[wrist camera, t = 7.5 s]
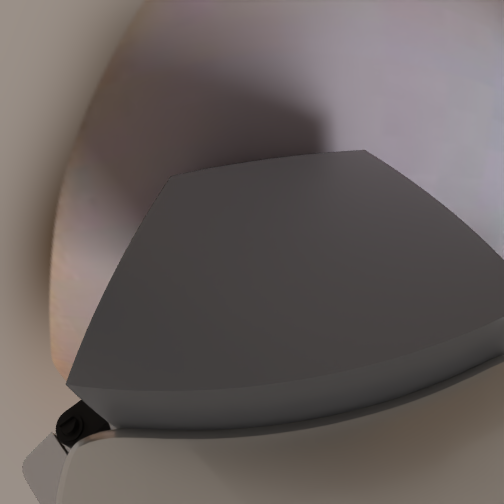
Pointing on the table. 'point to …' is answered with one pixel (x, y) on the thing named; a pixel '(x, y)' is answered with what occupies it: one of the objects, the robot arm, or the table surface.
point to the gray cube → (288, 298)
